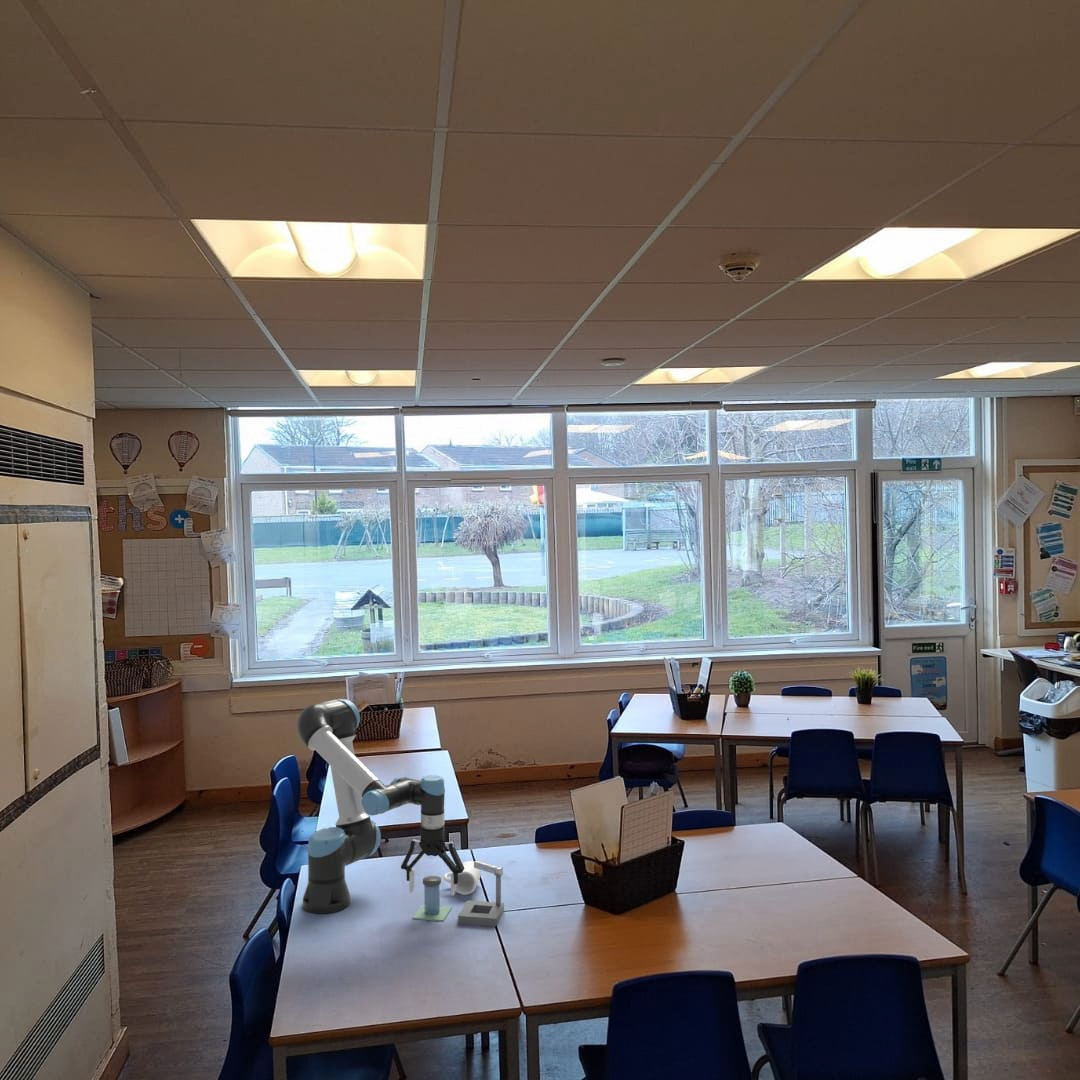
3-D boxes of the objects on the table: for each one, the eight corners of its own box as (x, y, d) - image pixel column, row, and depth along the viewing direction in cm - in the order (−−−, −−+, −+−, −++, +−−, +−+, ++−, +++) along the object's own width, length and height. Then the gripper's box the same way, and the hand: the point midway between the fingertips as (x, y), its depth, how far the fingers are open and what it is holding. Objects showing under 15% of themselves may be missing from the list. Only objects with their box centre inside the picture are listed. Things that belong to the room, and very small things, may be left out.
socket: (458, 923, 282) (458, 885, 282) (467, 908, 294) (467, 871, 294) (496, 926, 280) (496, 887, 280) (503, 910, 292) (504, 873, 292)
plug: (420, 915, 287) (420, 882, 287) (425, 907, 293) (425, 875, 293) (438, 916, 286) (438, 883, 286) (443, 908, 292) (443, 876, 292)
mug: (481, 884, 314) (481, 861, 314) (476, 895, 304) (476, 872, 304) (446, 882, 315) (446, 859, 315) (440, 894, 305) (440, 870, 305)
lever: (504, 873, 291) (504, 867, 291) (498, 876, 289) (499, 870, 289) (477, 865, 298) (477, 859, 298) (472, 868, 296) (472, 862, 296)
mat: (412, 918, 286) (412, 917, 286) (421, 906, 295) (421, 904, 295) (443, 921, 284) (443, 919, 284) (451, 908, 294) (451, 907, 294)
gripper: (391, 827, 288) (391, 894, 288) (467, 831, 284) (467, 899, 284) (398, 820, 295) (398, 885, 295) (473, 824, 291) (473, 890, 291)
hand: (432, 892), depth 290 cm, fingers open, 13 cm apart
